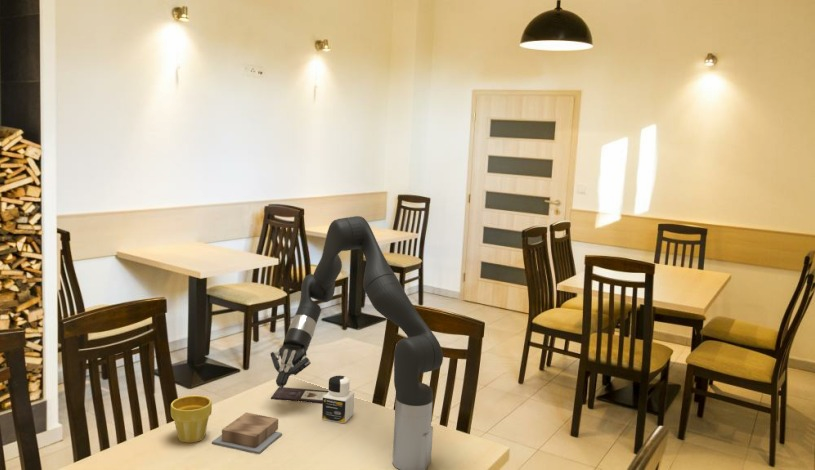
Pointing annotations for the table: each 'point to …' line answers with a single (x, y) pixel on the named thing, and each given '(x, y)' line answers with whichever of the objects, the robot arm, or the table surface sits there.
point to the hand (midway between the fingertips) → (279, 385)
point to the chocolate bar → (299, 395)
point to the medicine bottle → (338, 400)
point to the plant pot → (191, 417)
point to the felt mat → (256, 450)
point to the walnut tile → (250, 429)
